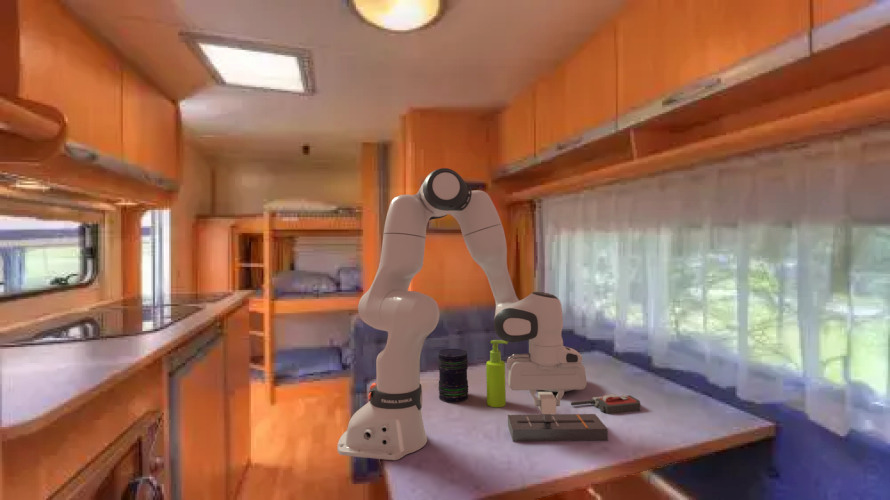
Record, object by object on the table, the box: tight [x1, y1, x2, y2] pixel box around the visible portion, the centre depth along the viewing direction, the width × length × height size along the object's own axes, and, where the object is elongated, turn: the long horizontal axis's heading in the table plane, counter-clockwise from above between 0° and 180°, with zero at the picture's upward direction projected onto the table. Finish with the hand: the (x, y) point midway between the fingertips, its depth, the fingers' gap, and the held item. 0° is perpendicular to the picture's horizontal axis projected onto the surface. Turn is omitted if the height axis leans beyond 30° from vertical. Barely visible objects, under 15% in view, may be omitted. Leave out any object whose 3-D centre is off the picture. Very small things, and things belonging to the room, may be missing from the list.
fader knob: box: [537, 391, 557, 422], centre depth 106 cm, size 4×5×7 cm
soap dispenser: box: [485, 339, 509, 408], centre depth 126 cm, size 6×7×20 cm
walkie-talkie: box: [570, 393, 641, 415], centre depth 122 cm, size 9×4×20 cm
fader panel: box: [507, 413, 609, 442], centre depth 106 cm, size 24×9×3 cm, turn 89°
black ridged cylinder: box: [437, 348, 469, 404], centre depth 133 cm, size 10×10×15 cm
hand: (546, 405), depth 106 cm, fingers closed on fader knob, 4 cm apart
